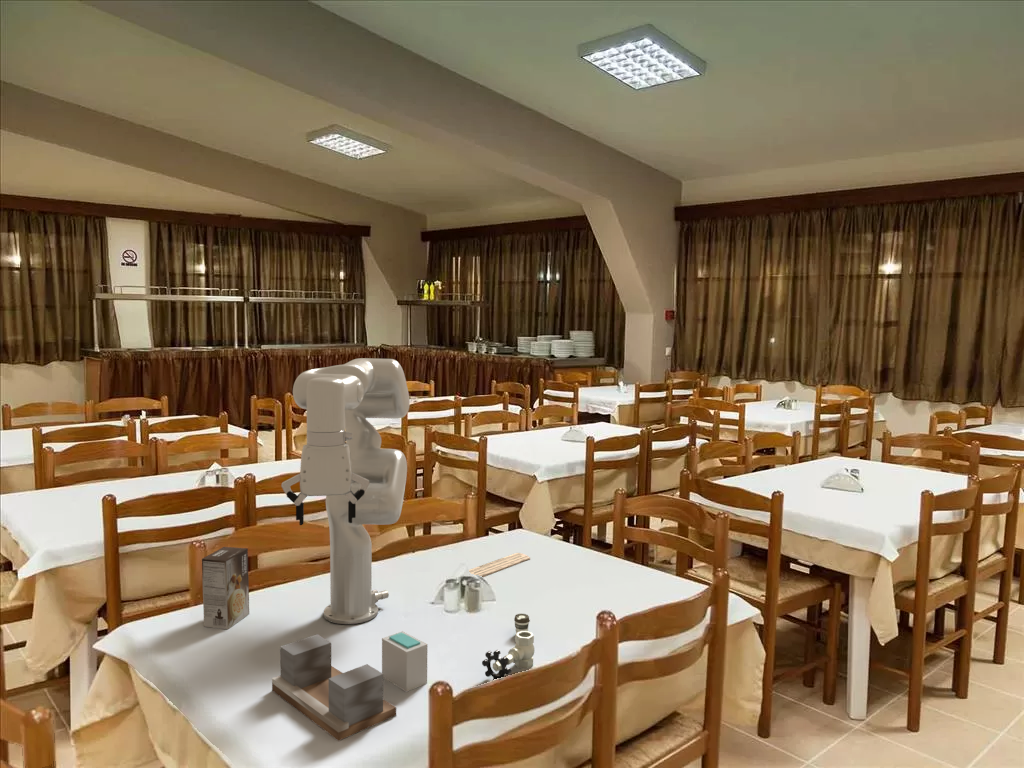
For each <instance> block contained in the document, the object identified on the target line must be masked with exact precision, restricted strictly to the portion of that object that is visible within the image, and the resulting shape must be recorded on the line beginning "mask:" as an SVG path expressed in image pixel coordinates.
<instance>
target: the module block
mask: <svg viewBox="0 0 1024 768" xmlns="http://www.w3.org/2000/svg"><path fill="white" fill-rule="evenodd" d="M381 673H383V679H384V680H386V681H388V682H390V683H391V684H393V685H394V686H397V688H398V689H401V690H403V691H405V692H406V693H407V692H409V691H412V690H414V689H417V688H419V687H421V686H424V685H426V684H428V644H427V643H426V642H424V641H422V640H421V639H419V638H417V637H415V636H412V635H410V634H409V633H407V632H405V631H403V630H402V631H399V632H396V633H394V634H391V635H388V636H386V637H382V638H381Z"/></svg>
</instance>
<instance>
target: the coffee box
mask: <svg viewBox="0 0 1024 768" xmlns="http://www.w3.org/2000/svg"><path fill="white" fill-rule="evenodd" d="M248 550H249V548H246V547H245V548H243V547H232V546H231V547H230V546H222V547H220V548H219V549H217V550H216V551H214V552H212V553H210V554H208V555H207V556H204V557H203V558H201V572H202V574H201V577H202V600H203V601H202V603H203V605H202V606H203V627H205V628H212V629H222V630H224V629H225V630H229V629H231V628H232V627H234V626H235V625H236V624H238V623H239V622H241V620H243V619H244V618H246V617H247V616H249V615H250V590H249V589H250V588H249V587H250V586H249V584H250V583H249V551H248Z"/></svg>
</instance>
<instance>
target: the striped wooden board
mask: <svg viewBox="0 0 1024 768" xmlns="http://www.w3.org/2000/svg"><path fill="white" fill-rule="evenodd" d="M530 560H531V557H529V556H528V555H527V554H524V553H521V552H515V553H512V554H510V555H507V556H504V557H501V558H498V559H496V560H493V561H490V562H488V563H483V564H481V565H479V566H475V567H473V568H471V569H468V570H469V572H470V573H471V574H474V575H479V576H482V577H483V578H485V577H487V576H490V575H492V574H496V573H497V572H501V571H504V570H506V569H509V568H511V567H514V566H516V565H519V564H522V563H525V562H527V561H530Z"/></svg>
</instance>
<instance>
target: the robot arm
mask: <svg viewBox="0 0 1024 768" xmlns="http://www.w3.org/2000/svg"><path fill="white" fill-rule="evenodd" d="M404 372H405V371H404V370H403V367H402V366H401V364H400V363H399V361H397V360H396V359H393V358H371V357H369V358H368V357H365V358H363V357H361V358H360V357H359V358H355V359H352V360H349V361H348V362H346V363H344V364H337V365H331V366H327V367H319V368H312V369H308V370H305V371H302V372H300V374H298V376H297V377H296V379H295V381H294V383H293V388H292V396H293V401H294V402H295V404H296V405H297V406H298V407H299V408H300V409H303V410H306V444H303V446H302V450H301V456H300V466H299V467H300V468H299V472H300V473H298V474H295V475H294V476H292V477H290V478H288V479H286V480H284V481H282V483H281V486H280V487H281V489H282V490H283V492H284V494H285V495H286V498H288V499H289V500H290V501H291V502H292V503H293V504H294V505H295V520H296V521H299V526H303V525H304V522H305V521H304V518H305V517H304V513H305V512H304V511H305V510H304V504H305V503H304V502H303V501H305V499H306V498H307V497H325V509H326V514H327V515H326V516H327V520H328V528H329V554H330V555H329V556H330V557H329V558H330V559H329V560H330V565H329V569H330V570H329V571H330V573H329V574H330V576H329V577H330V581H329V582H330V583H329V584H330V586H329V587H330V603H329V604H328V605H327V606H326V607H325V608H324V610H323V618H324V619H326V620H327V621H328V622H331V623H333V624H339V625H354V624H356V625H357V624H361V623H365V622H368V621H370V620H373V619H374V618H376V616H378V614H379V606H378V605H377V604H376V603H378V602H379V601H381V600H384V599H388V598H389V596H390V595H389V594H390V593H389V592H388V590H386V589H385V590H384V589H383V590H381V591H379V590H377V589H373V590H372V583H373V582H372V577H373V576H372V573H373V572H372V564H373V563H372V557H373V556H372V553H373V552H372V548H373V546H372V540H371V539H372V538H371V537H370V534H369V533H368V531H367V529H366V528H365V527H364V525H378V526H380V525H382V526H383V525H392V524H395V523H397V522H398V521H399V519H400V517H401V515H402V514H401V513H402V509H403V503H404V496H405V489H406V483H407V477H408V476H407V474H408V462H407V458H406V456H405V454H404V452H402V450H400V449H395V448H381V446H382V436H381V434H380V433H379V432H378V430H377V429H376V428H375V426H374V425H373V424H371V422H370V421H368V420H367V419H389V420H390V419H392V420H393V419H395V420H396V419H402V418H404V417H405V416H406V415H407V414H408V413H409V410H410V403H411V402H410V394H409V389H408V384H407V379H406V376H405V373H404ZM297 483H299V490H300V492H299V493H298V494H296V493H295V492H294V491H292V489H291V486H293V485H296V484H297ZM378 591H379V592H378Z"/></svg>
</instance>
